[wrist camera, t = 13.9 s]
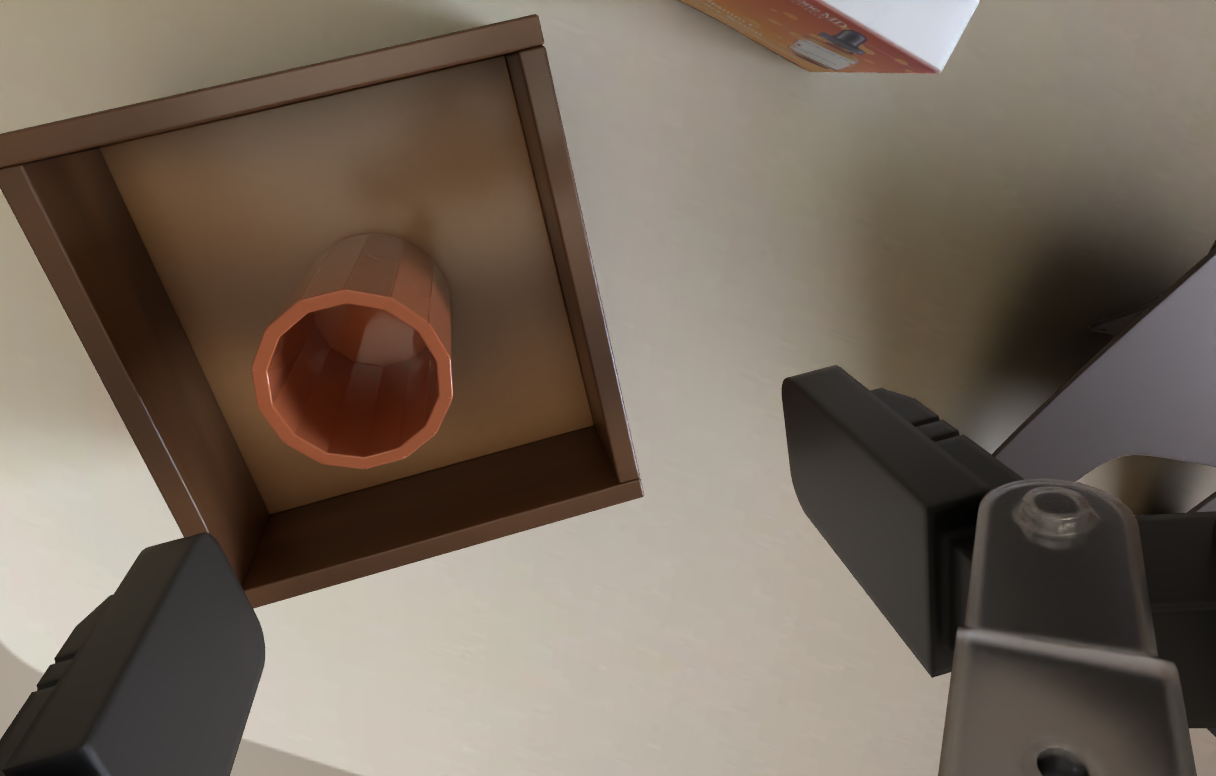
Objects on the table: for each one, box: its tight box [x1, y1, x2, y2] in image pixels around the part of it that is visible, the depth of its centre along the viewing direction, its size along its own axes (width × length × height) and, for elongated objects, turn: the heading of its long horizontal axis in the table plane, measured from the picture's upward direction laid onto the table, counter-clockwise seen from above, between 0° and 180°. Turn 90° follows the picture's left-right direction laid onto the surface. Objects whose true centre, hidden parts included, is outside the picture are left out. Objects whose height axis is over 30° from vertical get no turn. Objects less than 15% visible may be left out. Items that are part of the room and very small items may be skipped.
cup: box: [251, 233, 453, 469], centre depth 25 cm, size 5×5×8 cm
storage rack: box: [0, 14, 644, 608], centre depth 30 cm, size 16×15×13 cm
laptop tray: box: [992, 240, 1216, 513], centre depth 44 cm, size 23×23×9 cm
